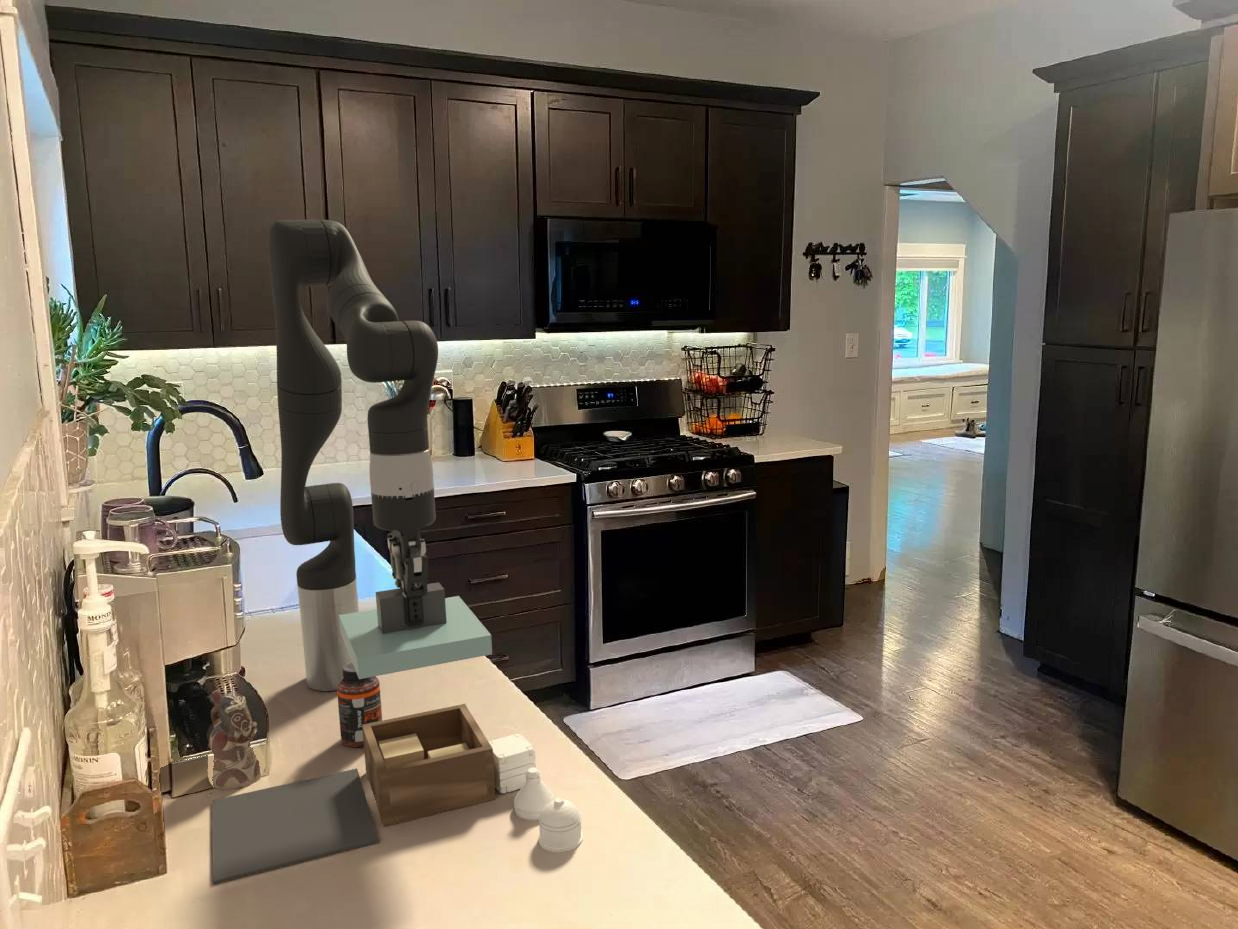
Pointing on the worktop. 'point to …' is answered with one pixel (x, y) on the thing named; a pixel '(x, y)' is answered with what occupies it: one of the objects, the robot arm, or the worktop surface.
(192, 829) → the worktop surface
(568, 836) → the container set
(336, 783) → the mat
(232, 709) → the figurine
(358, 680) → the supplement bottle
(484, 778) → the box
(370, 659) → the lid
